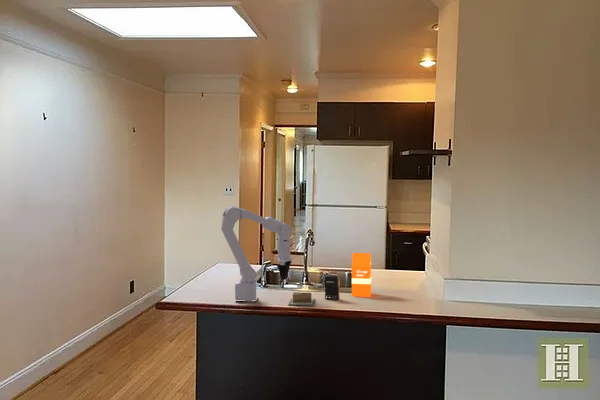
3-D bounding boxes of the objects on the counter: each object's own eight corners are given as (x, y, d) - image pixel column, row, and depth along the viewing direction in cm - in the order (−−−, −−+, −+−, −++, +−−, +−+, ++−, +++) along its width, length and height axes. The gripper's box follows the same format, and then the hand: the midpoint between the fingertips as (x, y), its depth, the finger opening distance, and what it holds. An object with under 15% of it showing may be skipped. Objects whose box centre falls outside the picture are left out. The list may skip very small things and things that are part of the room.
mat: (288, 305, 229) (288, 304, 229) (291, 299, 240) (291, 298, 240) (313, 306, 228) (313, 304, 228) (315, 300, 239) (315, 298, 239)
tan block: (310, 302, 232) (310, 294, 231) (292, 302, 232) (292, 294, 232) (311, 300, 236) (311, 292, 236) (293, 300, 237) (293, 292, 237)
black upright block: (322, 299, 240) (322, 275, 239) (326, 298, 243) (326, 273, 243) (337, 301, 237) (336, 276, 236) (340, 299, 240) (340, 274, 240)
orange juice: (370, 296, 245) (370, 254, 244) (351, 296, 247) (351, 254, 246) (371, 293, 253) (371, 252, 252) (353, 292, 254) (353, 251, 253)
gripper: (290, 251, 235) (291, 281, 236) (294, 246, 250) (294, 275, 250) (275, 251, 236) (275, 281, 237) (279, 246, 251) (280, 274, 251)
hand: (284, 278), depth 244 cm, fingers open, 7 cm apart
